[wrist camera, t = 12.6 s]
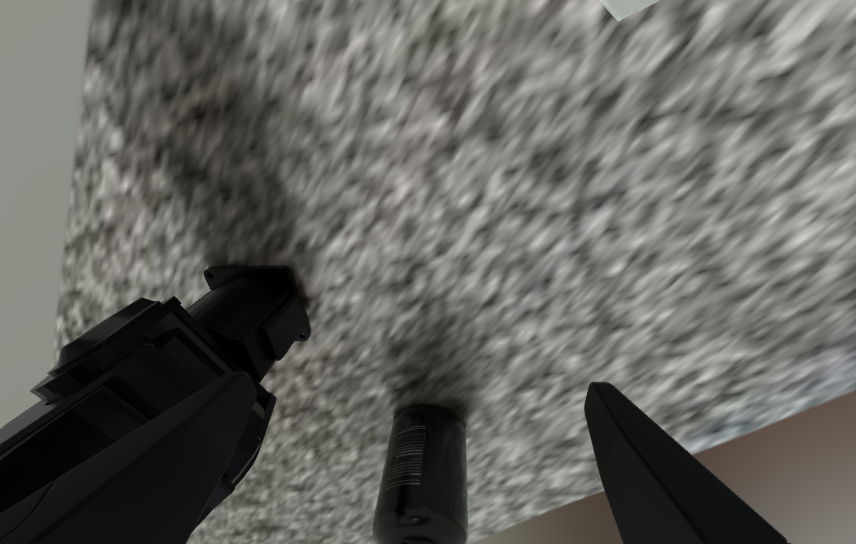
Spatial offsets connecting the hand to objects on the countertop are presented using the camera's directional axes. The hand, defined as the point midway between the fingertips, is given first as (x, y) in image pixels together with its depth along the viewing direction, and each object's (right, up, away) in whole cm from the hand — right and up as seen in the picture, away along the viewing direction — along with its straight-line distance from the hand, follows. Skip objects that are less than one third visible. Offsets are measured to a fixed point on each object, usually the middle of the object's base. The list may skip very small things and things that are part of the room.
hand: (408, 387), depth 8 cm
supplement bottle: (+1, -11, +21) cm, 24 cm away
